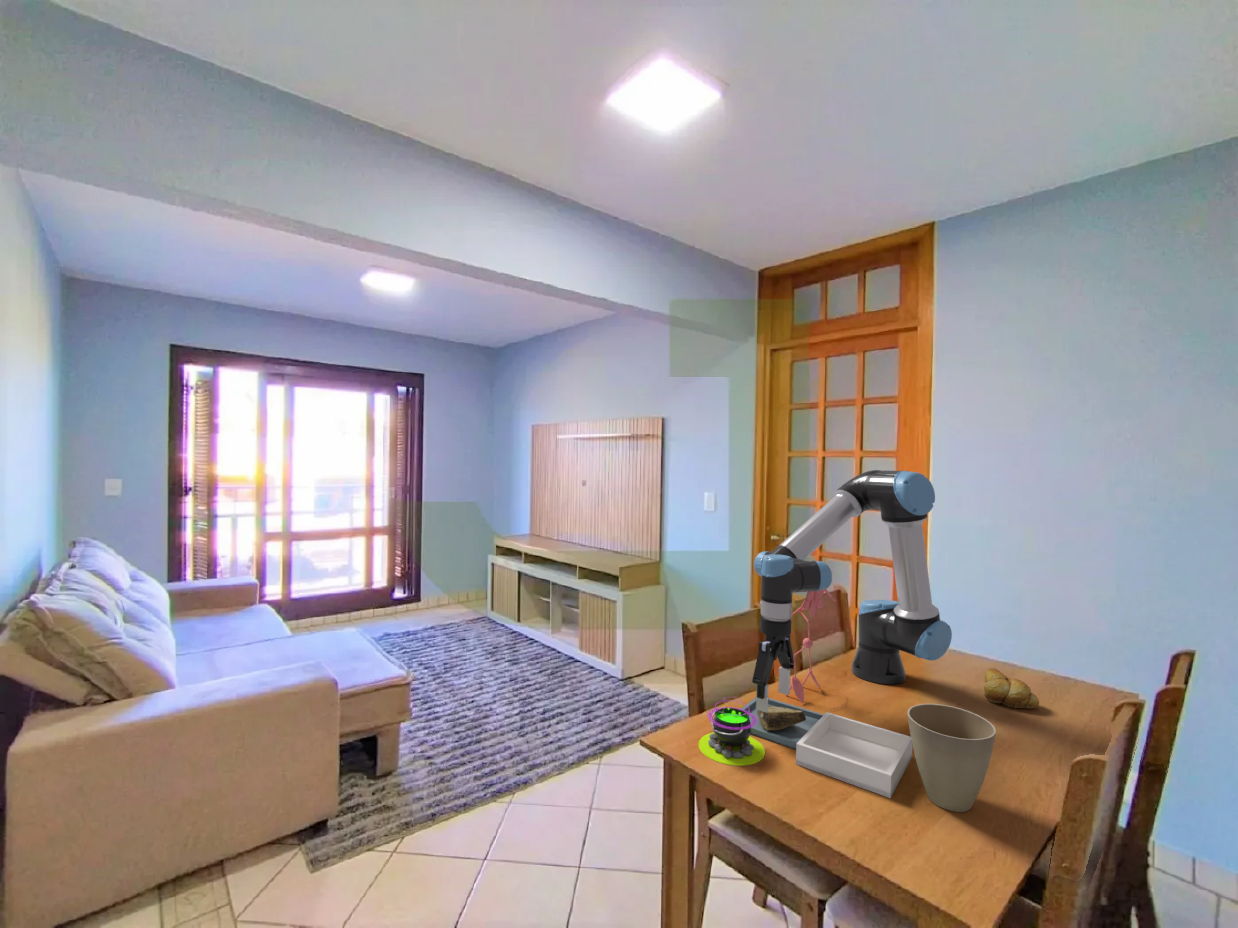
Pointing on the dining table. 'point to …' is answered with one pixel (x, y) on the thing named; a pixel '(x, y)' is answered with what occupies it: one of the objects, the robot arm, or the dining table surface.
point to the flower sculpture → (811, 603)
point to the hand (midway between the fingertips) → (773, 701)
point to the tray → (788, 734)
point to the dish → (855, 753)
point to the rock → (780, 718)
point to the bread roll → (1008, 691)
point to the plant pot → (951, 753)
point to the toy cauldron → (731, 738)
